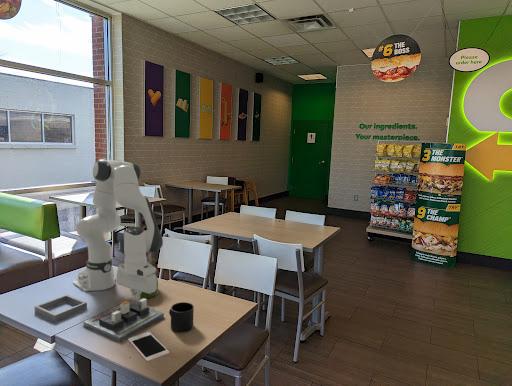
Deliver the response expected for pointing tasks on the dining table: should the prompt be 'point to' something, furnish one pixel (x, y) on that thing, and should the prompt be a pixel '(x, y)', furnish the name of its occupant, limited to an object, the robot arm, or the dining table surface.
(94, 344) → the dining table surface
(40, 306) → the deck corral
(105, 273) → the robot arm
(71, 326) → the dining table surface
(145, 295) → the apple
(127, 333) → the panel
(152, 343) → the cell phone
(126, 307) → the block
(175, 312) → the mug
